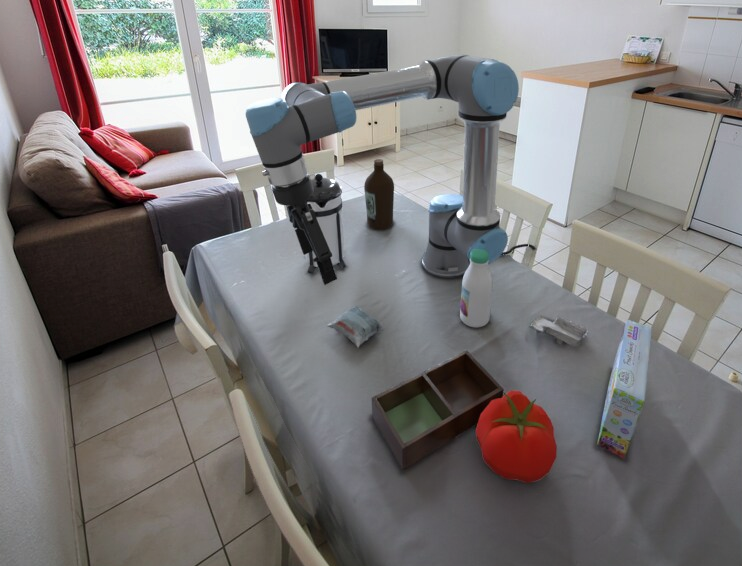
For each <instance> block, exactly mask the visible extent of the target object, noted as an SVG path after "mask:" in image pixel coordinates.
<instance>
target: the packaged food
mask: <svg viewBox="0 0 742 566" xmlns="http://www.w3.org/2000/svg"><path fill="white" fill-rule="evenodd" d="M326 327H328V328H330V329H333V330H334V331H336V332H338V333H340V335H343V336H345V337H346V338H348V339H349V340H350V341H351V342H352V343H353V344H354V345H355V346H356V348H357V349H359V348H360V346H362V345H363V343H365V342H366V341H368V340H369V338H371V337H372V336H373V335H375V334H377V333H380V332H382V331H384V330H385V327H384V326H383V325H382V324H381V323H380V322H379V321H378V320H377V319H376V318H375V317H373V316H370V314H367V313H366V312H365V311H364V310H362V309H361V308H360V307H359V306H357V305H356V306H354V307H352V308H350V309H348V310H347V311H346V312H344V313H343V314H341V316H339V317H338V318H336V319H335V320H334V321H331V322H329V323H327V324H326Z"/></svg>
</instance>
